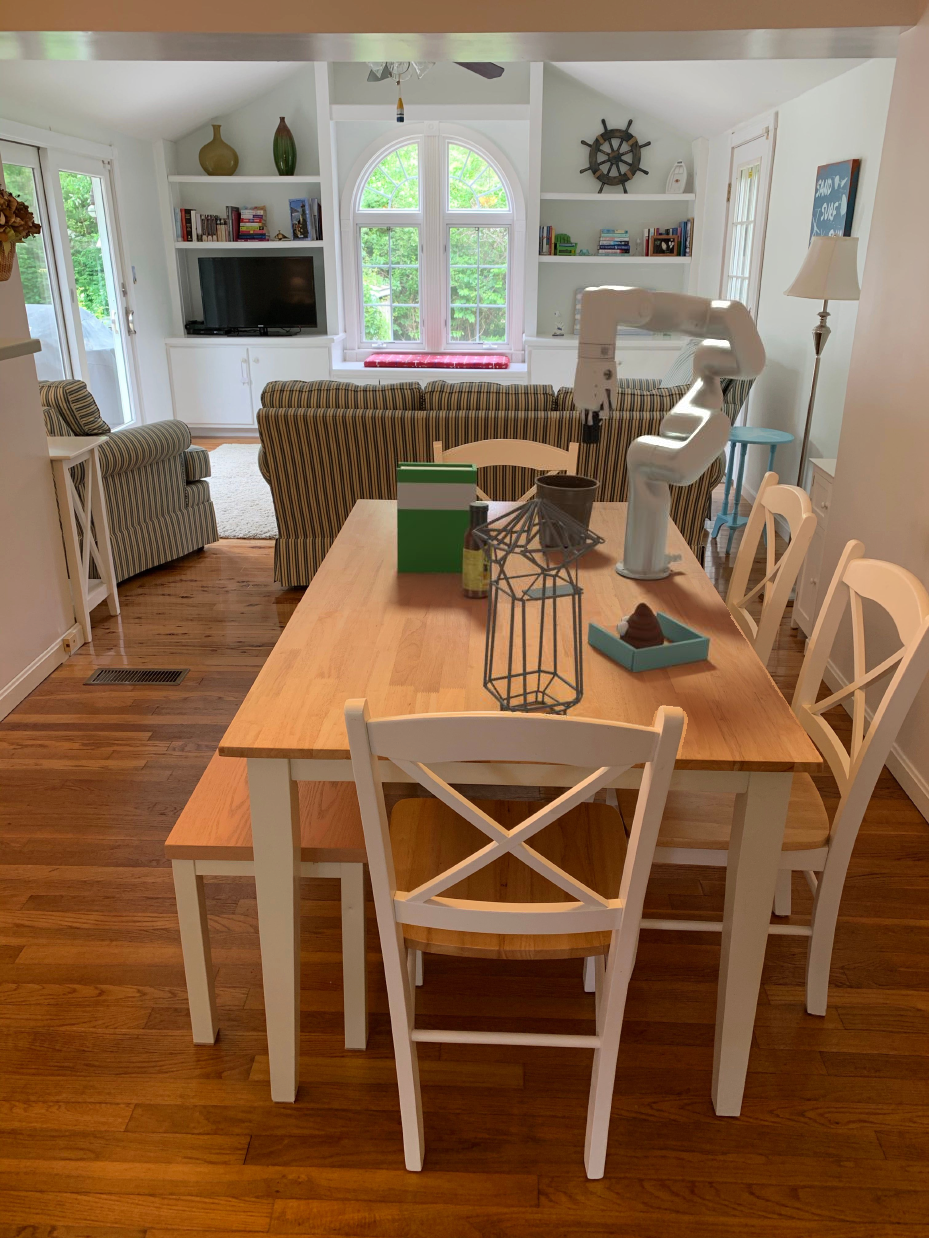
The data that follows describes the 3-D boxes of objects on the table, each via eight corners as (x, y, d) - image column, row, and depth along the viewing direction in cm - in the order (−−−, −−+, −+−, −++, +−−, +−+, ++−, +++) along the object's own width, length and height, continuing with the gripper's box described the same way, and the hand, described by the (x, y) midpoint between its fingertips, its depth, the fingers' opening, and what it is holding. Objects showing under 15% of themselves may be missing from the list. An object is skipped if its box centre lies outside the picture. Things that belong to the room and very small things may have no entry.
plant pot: (605, 541, 243) (610, 479, 237) (578, 555, 230) (582, 491, 224) (549, 531, 251) (553, 471, 245) (520, 544, 238) (523, 482, 232)
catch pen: (658, 630, 184) (660, 611, 182) (707, 659, 171) (710, 638, 169) (587, 642, 177) (589, 622, 176) (633, 672, 164) (635, 651, 163)
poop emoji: (656, 661, 170) (661, 613, 166) (610, 653, 173) (614, 606, 169) (667, 642, 178) (672, 596, 175) (623, 635, 181) (627, 590, 178)
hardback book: (397, 572, 214) (396, 469, 206) (398, 563, 221) (398, 462, 213) (474, 573, 215) (476, 470, 206) (473, 564, 222) (475, 463, 213)
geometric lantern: (510, 747, 138) (513, 516, 126) (467, 705, 152) (466, 493, 140) (601, 728, 144) (613, 505, 132) (552, 689, 158) (559, 484, 146)
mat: (569, 585, 209) (569, 583, 209) (583, 593, 204) (583, 592, 203) (521, 591, 204) (521, 590, 204) (535, 600, 199) (535, 598, 199)
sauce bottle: (488, 600, 198) (491, 508, 191) (459, 597, 199) (461, 506, 192) (493, 590, 204) (496, 501, 197) (465, 588, 205) (467, 499, 198)
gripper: (633, 355, 184) (625, 448, 190) (592, 348, 196) (586, 436, 203) (600, 356, 181) (594, 451, 187) (561, 349, 193) (556, 438, 200)
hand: (590, 443), depth 195 cm, fingers closed
